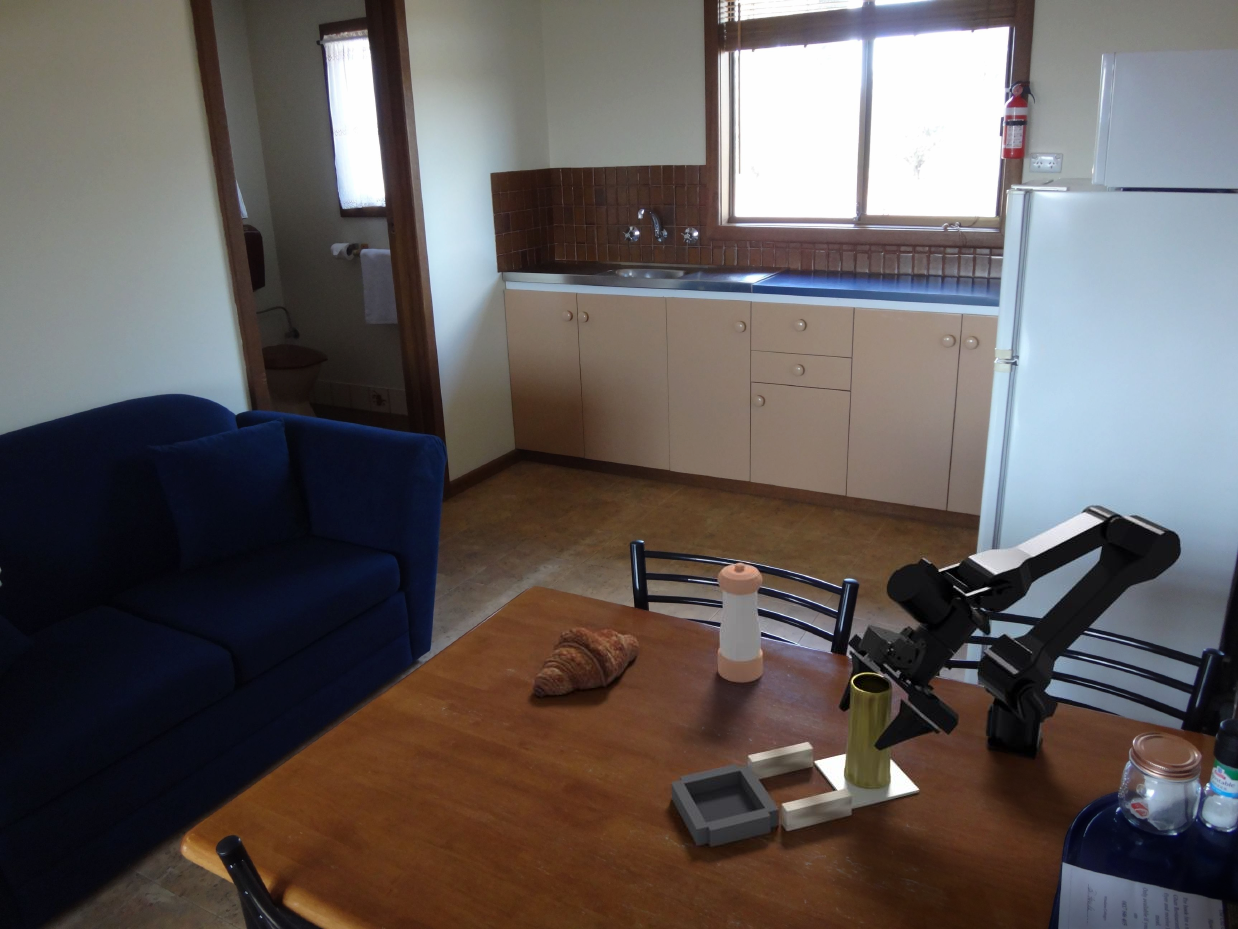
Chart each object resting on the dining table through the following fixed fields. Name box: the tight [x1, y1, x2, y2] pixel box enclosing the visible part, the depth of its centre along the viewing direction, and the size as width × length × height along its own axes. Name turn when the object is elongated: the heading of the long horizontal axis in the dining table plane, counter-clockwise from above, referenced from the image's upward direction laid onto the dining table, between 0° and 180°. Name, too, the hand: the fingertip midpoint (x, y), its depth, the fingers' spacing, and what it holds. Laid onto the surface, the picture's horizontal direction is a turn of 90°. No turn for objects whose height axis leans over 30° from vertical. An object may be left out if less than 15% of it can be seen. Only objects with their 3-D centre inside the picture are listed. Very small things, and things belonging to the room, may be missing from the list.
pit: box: [670, 763, 780, 848], centre depth 122 cm, size 11×11×2 cm
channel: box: [747, 741, 853, 832], centre depth 125 cm, size 9×12×3 cm
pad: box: [813, 753, 920, 810], centre depth 128 cm, size 10×10×1 cm
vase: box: [844, 673, 893, 789], centre depth 125 cm, size 6×6×14 cm
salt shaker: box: [717, 562, 764, 683], centre depth 152 cm, size 7×7×19 cm
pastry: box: [532, 627, 640, 698], centre depth 156 cm, size 17×15×8 cm
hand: (858, 728), depth 125 cm, fingers open, 9 cm apart
